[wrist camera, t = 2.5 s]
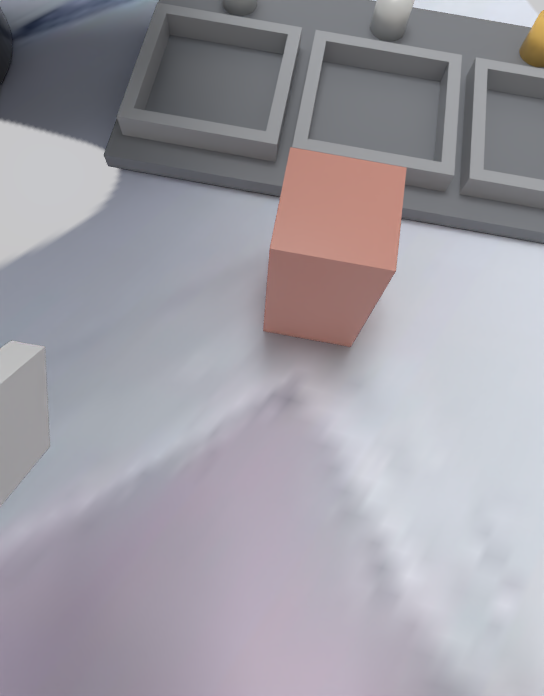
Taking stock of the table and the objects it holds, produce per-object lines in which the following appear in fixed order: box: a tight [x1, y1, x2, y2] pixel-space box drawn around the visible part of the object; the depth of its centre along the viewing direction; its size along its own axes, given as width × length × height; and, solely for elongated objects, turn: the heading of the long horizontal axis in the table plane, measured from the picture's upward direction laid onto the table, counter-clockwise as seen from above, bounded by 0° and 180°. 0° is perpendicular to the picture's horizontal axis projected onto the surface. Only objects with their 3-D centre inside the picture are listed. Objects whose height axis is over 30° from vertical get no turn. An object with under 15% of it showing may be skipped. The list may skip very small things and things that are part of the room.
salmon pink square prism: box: [263, 147, 407, 347], centre depth 24 cm, size 5×5×9 cm
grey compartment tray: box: [104, 0, 544, 243], centre depth 32 cm, size 32×17×3 cm, turn 80°
